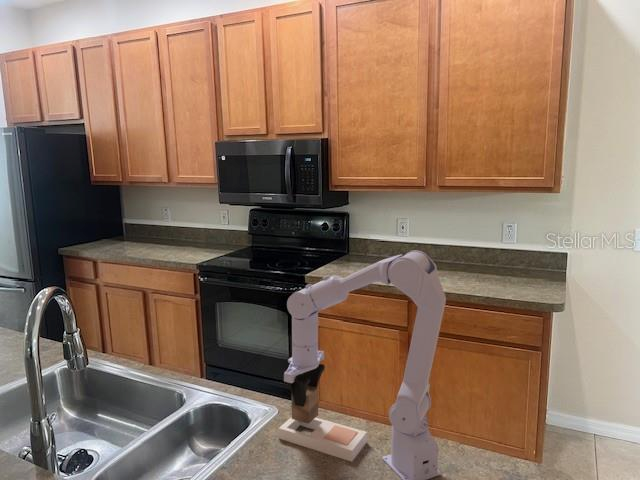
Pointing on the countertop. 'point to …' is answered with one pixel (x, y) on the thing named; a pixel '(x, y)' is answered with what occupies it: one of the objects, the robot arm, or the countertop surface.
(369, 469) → the countertop surface
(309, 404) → the plug
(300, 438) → the socket block
